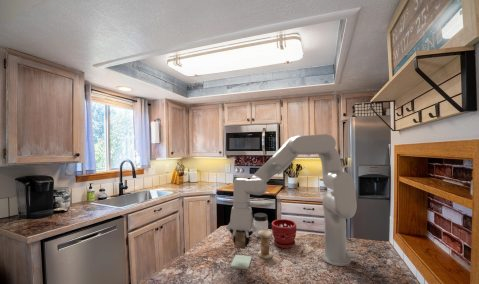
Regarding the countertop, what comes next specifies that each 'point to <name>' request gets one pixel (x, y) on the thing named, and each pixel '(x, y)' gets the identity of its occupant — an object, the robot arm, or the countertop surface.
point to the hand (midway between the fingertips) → (241, 244)
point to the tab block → (240, 239)
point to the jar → (260, 222)
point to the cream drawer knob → (265, 244)
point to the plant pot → (284, 233)
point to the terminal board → (241, 262)
